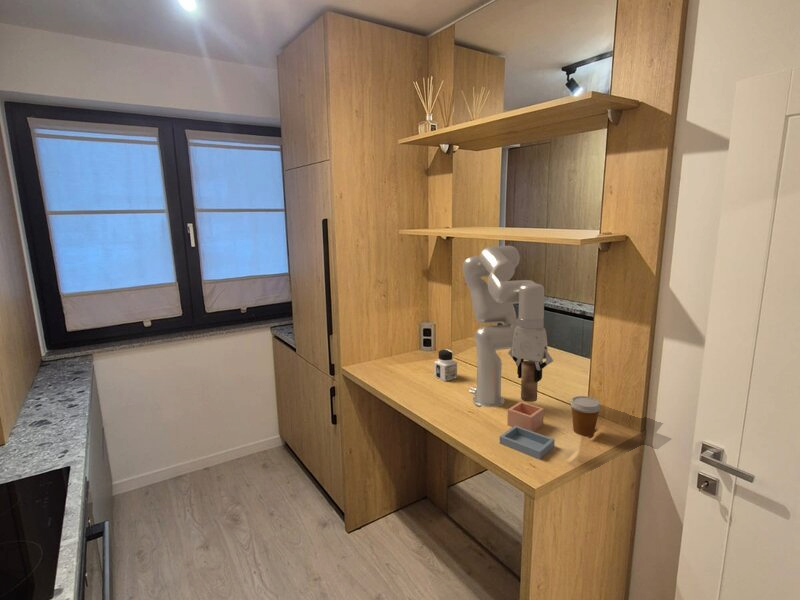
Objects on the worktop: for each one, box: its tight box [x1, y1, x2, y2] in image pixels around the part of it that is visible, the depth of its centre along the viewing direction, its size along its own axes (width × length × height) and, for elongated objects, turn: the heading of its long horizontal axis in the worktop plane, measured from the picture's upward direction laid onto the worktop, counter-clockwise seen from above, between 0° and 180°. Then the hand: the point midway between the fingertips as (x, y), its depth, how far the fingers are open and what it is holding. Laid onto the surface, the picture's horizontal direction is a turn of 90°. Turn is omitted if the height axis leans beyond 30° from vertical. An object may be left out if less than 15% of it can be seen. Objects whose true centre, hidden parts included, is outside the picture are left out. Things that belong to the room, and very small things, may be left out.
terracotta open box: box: [507, 401, 545, 432], centre depth 152 cm, size 9×9×7 cm
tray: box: [499, 425, 556, 460], centre depth 139 cm, size 14×10×4 cm
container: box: [433, 348, 458, 382], centre depth 200 cm, size 8×8×13 cm
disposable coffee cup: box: [570, 395, 602, 439], centre depth 146 cm, size 10×10×12 cm
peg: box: [520, 360, 539, 403], centre depth 137 cm, size 5×5×12 cm
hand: (529, 378), depth 137 cm, fingers closed on peg, 5 cm apart
